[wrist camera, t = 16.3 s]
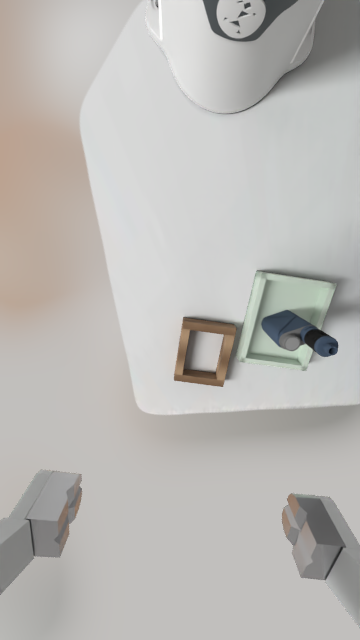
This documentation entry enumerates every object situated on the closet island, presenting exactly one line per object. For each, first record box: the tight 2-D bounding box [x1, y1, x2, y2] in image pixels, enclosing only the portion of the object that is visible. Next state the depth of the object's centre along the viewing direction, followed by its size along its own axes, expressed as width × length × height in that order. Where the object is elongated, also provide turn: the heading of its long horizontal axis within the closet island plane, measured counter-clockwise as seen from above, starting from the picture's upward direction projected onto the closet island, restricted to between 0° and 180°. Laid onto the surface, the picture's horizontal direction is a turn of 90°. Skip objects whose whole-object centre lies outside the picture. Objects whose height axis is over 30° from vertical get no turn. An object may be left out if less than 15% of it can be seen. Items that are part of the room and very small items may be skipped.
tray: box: [236, 271, 337, 371], centre depth 36 cm, size 14×11×2 cm
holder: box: [174, 317, 237, 387], centre depth 38 cm, size 10×8×2 cm
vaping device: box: [261, 310, 338, 357], centre depth 31 cm, size 3×5×12 cm, turn 110°
